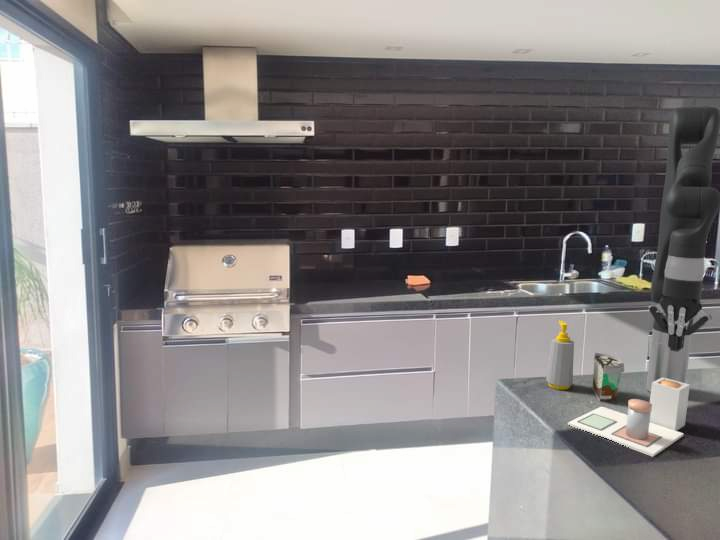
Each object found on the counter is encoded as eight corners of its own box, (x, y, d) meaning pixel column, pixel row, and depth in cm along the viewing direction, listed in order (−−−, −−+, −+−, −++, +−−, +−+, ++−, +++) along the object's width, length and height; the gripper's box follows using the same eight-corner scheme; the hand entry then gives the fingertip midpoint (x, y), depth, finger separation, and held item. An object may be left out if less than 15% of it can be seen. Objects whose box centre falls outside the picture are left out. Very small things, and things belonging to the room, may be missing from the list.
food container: (626, 406, 142) (630, 368, 140) (600, 403, 143) (604, 366, 141) (614, 389, 154) (618, 354, 152) (591, 386, 155) (594, 352, 153)
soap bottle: (566, 381, 158) (571, 320, 155) (576, 390, 151) (582, 326, 148) (542, 381, 158) (547, 319, 155) (551, 390, 151) (556, 326, 148)
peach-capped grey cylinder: (630, 429, 126) (634, 397, 125) (651, 436, 123) (655, 403, 122) (621, 434, 123) (624, 402, 122) (642, 442, 120) (646, 408, 119)
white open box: (657, 416, 135) (662, 377, 134) (684, 425, 131) (689, 384, 129) (647, 423, 132) (651, 382, 130) (674, 432, 127) (679, 390, 125)
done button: (664, 389, 133) (665, 379, 132) (682, 394, 130) (683, 384, 129) (657, 392, 130) (658, 382, 130) (675, 398, 127) (676, 387, 127)
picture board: (600, 408, 139) (601, 405, 139) (683, 435, 125) (683, 432, 125) (567, 425, 129) (567, 422, 129) (653, 456, 115) (653, 453, 115)
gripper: (722, 279, 123) (713, 354, 126) (659, 270, 133) (652, 341, 136) (710, 282, 118) (700, 361, 121) (646, 273, 128) (638, 346, 131)
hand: (675, 350), depth 128 cm, fingers closed
